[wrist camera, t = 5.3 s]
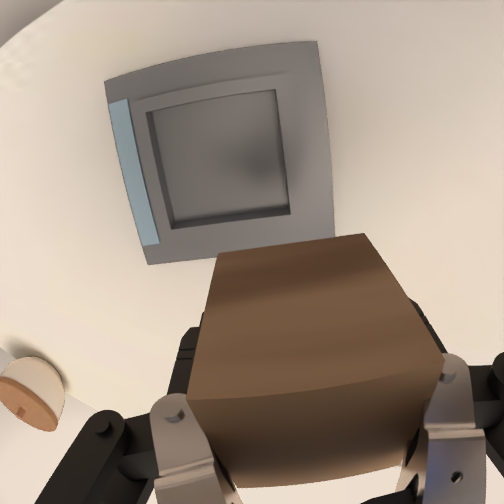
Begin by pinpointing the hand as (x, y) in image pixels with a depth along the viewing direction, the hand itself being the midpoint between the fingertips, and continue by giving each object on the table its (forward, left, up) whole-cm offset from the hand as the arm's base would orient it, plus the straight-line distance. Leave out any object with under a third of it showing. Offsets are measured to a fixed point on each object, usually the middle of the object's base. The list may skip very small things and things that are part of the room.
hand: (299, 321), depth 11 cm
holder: (-3, -4, -16) cm, 16 cm away
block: (0, 0, -1) cm, 1 cm away
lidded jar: (+21, -36, -16) cm, 44 cm away
